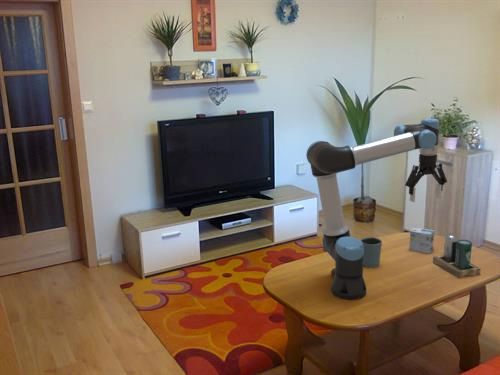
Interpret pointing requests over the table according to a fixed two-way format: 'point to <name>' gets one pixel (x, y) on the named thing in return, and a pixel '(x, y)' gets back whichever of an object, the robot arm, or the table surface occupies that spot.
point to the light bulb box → (421, 240)
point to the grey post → (450, 247)
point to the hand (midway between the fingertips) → (425, 199)
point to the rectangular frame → (455, 271)
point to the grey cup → (371, 251)
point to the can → (463, 254)
